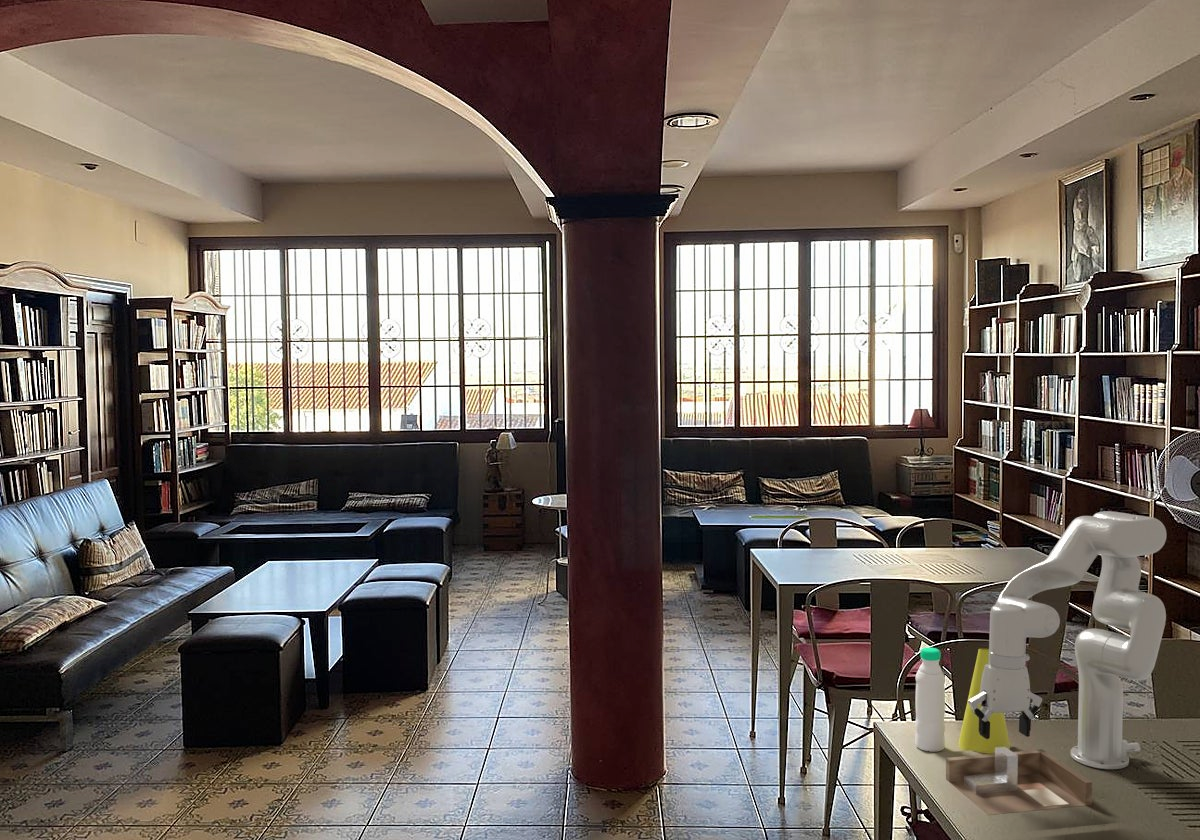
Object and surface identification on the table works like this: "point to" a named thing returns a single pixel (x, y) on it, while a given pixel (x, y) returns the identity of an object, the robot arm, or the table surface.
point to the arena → (1023, 783)
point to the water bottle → (930, 702)
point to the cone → (970, 726)
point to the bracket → (996, 774)
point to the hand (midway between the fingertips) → (1004, 735)
